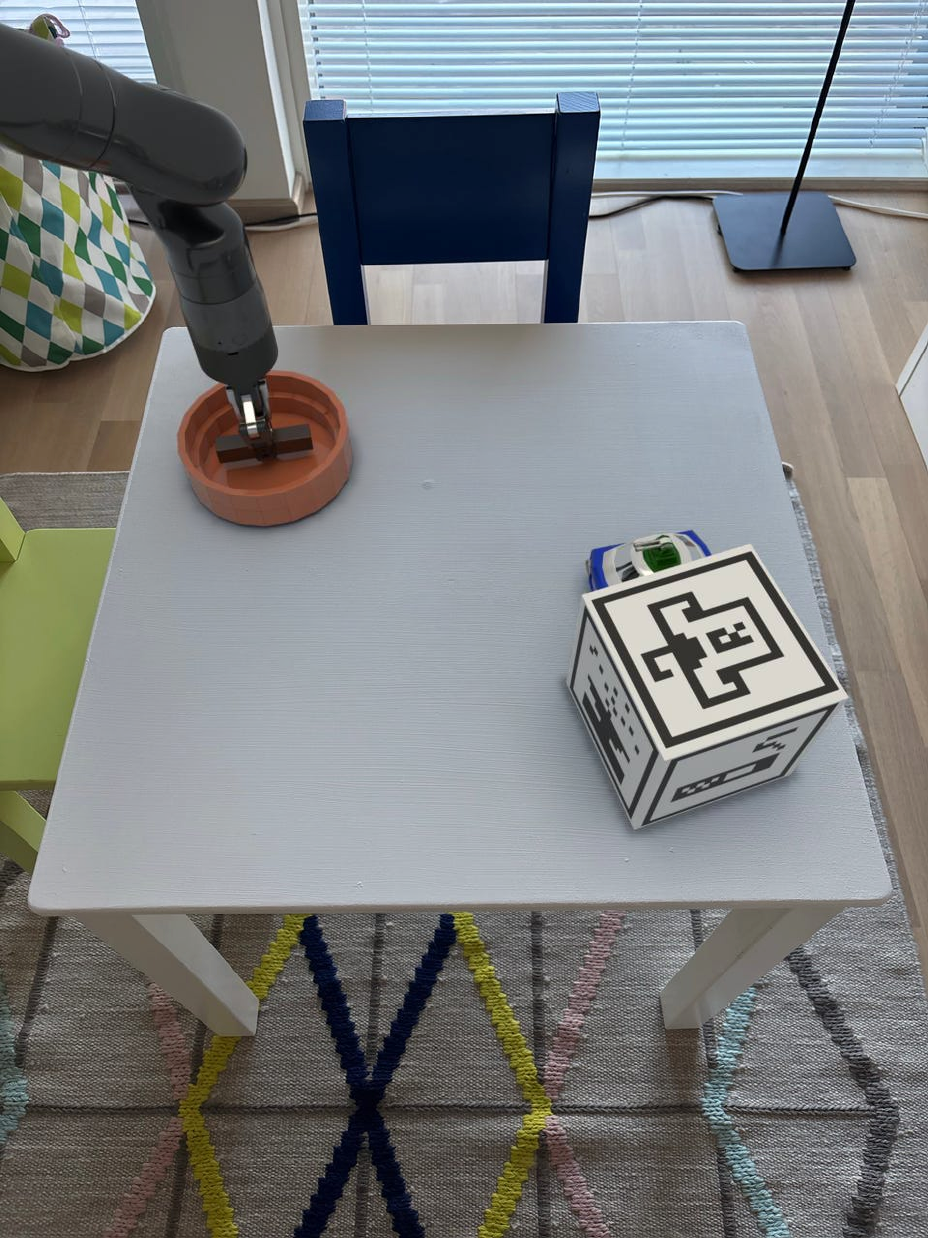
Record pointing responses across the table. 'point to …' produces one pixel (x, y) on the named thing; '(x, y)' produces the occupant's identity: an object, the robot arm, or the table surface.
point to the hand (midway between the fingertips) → (266, 448)
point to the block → (698, 684)
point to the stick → (283, 439)
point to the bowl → (272, 484)
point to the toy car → (642, 557)
